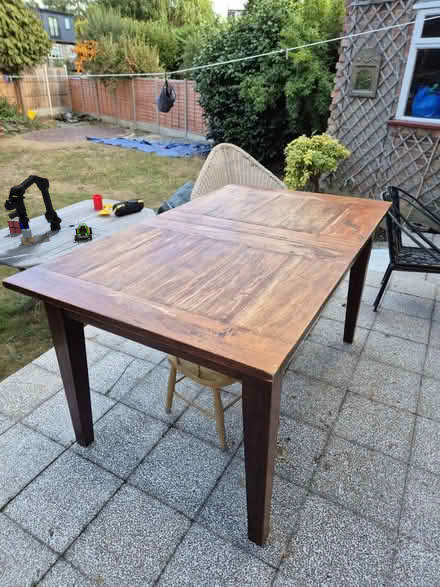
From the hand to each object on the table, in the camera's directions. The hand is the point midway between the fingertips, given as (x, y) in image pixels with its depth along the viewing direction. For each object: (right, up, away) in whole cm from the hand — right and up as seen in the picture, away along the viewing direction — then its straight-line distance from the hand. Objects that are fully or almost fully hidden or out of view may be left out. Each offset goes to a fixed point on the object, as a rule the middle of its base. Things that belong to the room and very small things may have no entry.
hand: (25, 229), depth 268 cm
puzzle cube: (-18, +2, +28) cm, 33 cm away
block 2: (0, -8, +4) cm, 10 cm away
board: (+1, -6, +11) cm, 12 cm away
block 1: (0, -4, +2) cm, 5 cm away
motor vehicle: (+33, -3, +18) cm, 38 cm away
